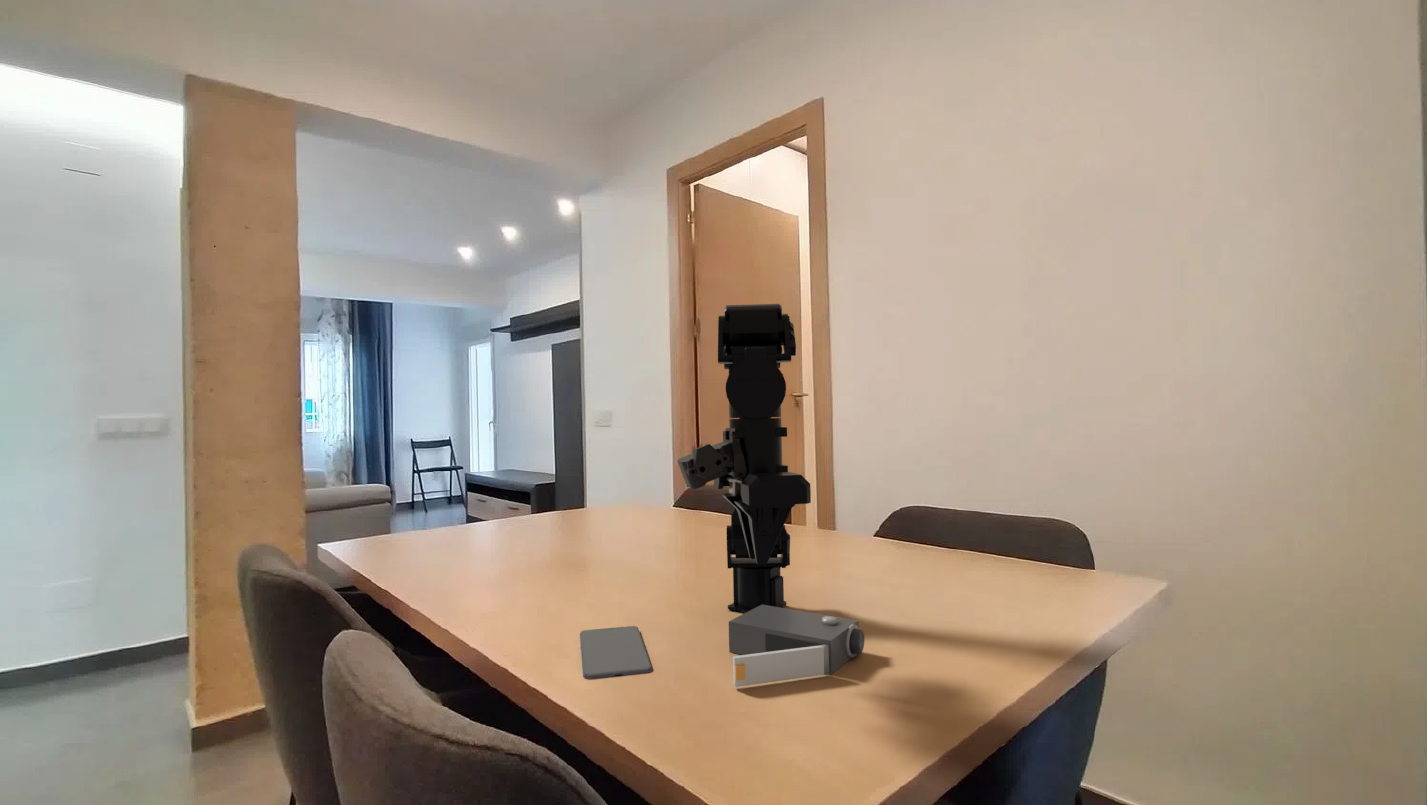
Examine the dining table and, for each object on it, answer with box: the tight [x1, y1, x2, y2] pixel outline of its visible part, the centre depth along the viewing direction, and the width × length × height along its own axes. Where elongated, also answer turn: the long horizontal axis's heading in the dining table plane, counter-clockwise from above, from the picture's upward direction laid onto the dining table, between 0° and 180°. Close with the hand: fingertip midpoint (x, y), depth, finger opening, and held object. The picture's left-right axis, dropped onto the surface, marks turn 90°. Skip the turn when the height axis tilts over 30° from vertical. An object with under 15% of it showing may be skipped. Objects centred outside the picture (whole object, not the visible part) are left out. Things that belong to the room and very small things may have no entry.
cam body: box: [728, 605, 865, 676], centre depth 76 cm, size 14×8×4 cm, turn 56°
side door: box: [732, 644, 830, 688], centre depth 67 cm, size 11×1×3 cm, turn 106°
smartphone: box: [579, 625, 653, 680], centre depth 77 cm, size 8×1×15 cm
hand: (758, 561), depth 70 cm, fingers open, 3 cm apart
